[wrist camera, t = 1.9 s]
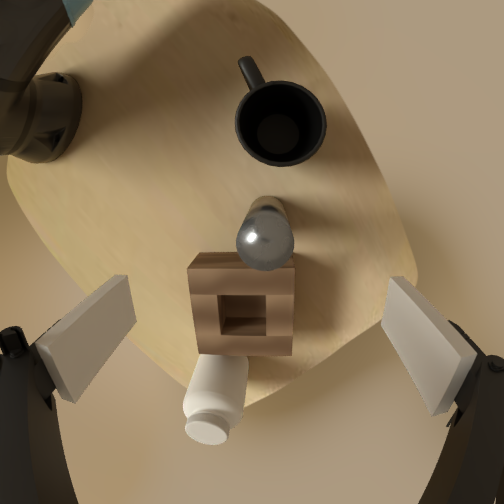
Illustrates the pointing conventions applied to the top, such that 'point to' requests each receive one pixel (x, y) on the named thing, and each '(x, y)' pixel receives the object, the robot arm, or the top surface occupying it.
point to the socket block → (241, 306)
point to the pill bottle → (215, 397)
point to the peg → (265, 235)
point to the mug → (278, 119)
